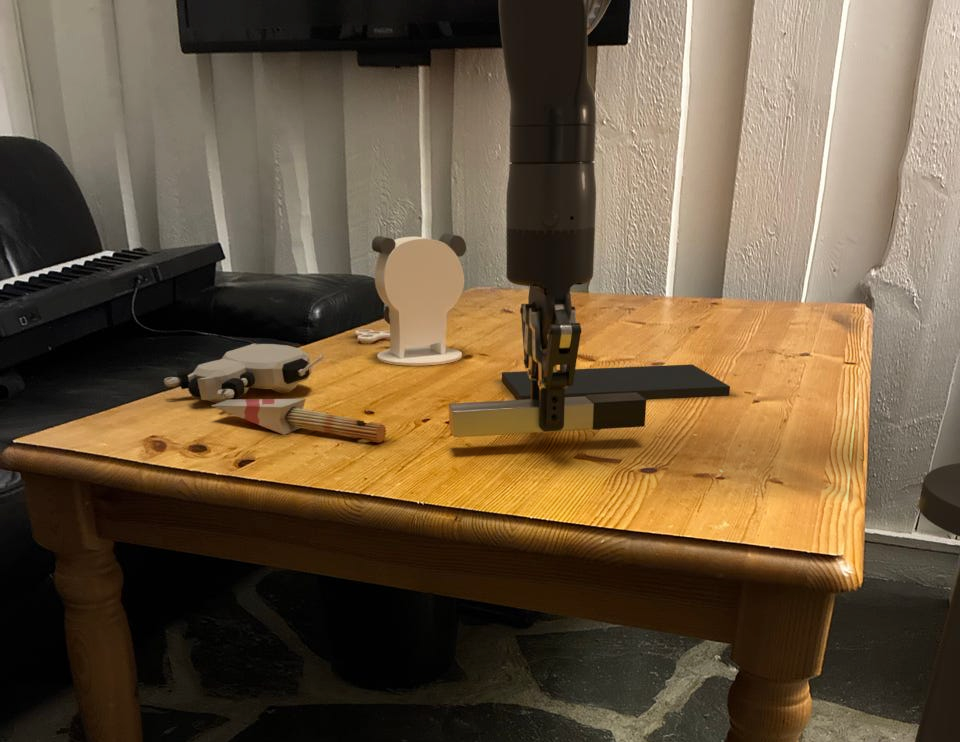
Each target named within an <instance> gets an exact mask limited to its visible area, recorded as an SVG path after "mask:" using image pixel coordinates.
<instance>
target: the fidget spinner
mask: <svg viewBox="0 0 960 742" xmlns="http://www.w3.org/2000/svg"><path fill="white" fill-rule="evenodd" d="M354 335H355V337H356V339H357V341H358V342H361V343H372V342H376V341H378V340H382V339H390V330H383V331H381V330H380V331H379V330H378V331H377V330H373V329H357V330H354Z"/></svg>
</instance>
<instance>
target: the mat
mask: <svg viewBox="0 0 960 742" xmlns="http://www.w3.org/2000/svg"><path fill="white" fill-rule="evenodd" d="M557 372H560V369H557ZM532 380H534V379H529V375H528V370H526V371H525V370H523V371H521V370H520V371H503V372H501V382H502V383H503V384H504V385H505V387H506V388H507V389H508V390H509V391H510V392H511V394H512V395H513V396H514V397H515V400H526V399H531V381H532ZM730 391H731V385H729V384H727V383H725V382H723V380H720V379H718V378H717V377H715V376H713V375H711V374H710V373H708V372H707V371H704V370H703V369H701V368H699V367H698V366H696V365H694V364H669V365H667V364H666V365H647V366H645V365H644V366H622V367H618V366H617V367H597V368H596V367H595V368H594V367H593V368H575V374H574V381H573V385H572V386H568V388H567V389H565V397H582V396H585V395H596V394H614V393H633V392H636V393H637V394H639V395H640V396H641V397H643V398H644V399H645V400H654V399H674V398H695V397H696V398H697V397H698V398H699V397H716V396H717V397H718V396H730Z"/></svg>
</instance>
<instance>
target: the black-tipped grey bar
mask: <svg viewBox="0 0 960 742" xmlns="http://www.w3.org/2000/svg"><path fill="white" fill-rule="evenodd" d="M646 411H647V399H644V398H643V397H641V396H640V395H639V394H637V393H636V392H633V393H614V394H596V395H585V396H582V397H565V405H564V427H563V429H561V430H559V431H543V430H541V428H540V427H539V399H526V400H517V399H511V400H490V401H474V402H472V401H471V402H453V403H448V428H449V432H450V433H451V435H452V437H453V438H468V437H469V438H470V437H486V436H487V437H488V436H504V435H505V436H506V435H519V434H520V435H522V434H537V433H538V434H539V433H555V432H570V431H571V432H572V431H587V430H588V431H590V430H592V431H593V430H594V431H595V430H610V429H611V430H612V429H627V428H630V429H631V428H643V427H645V426H646V413H647V412H646Z"/></svg>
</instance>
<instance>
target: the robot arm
mask: <svg viewBox="0 0 960 742" xmlns="http://www.w3.org/2000/svg"><path fill="white" fill-rule="evenodd" d="M611 1H612V0H498V18H499V19H498V21H499V32H500V40H501V41H500V42H501V48H502V56H503V61H504V70H505V76H506V82H507V86H508V93H509V99H510V100H509V101H510V108H509V109H510V110H509V166H508V167H509V168H508V178H507V186H506V198H505V199H506V203H505V204H506V206H505V207H506V215H505V217H506V218H505V219H506V220H505V221H506V223H505V224H506V225H505V227H506V234H505V235H506V265H505V266H506V274H505V275H506V279H507V281H508V282H509V283H511V284H513V285H517V286H523V287H529V289H528V297H527V298H528V299H527V301H528V303H521V305H520V308H519V313H520V318H521V332H522V344H523V345H522V347H523V358H524V359H523V365H524V368H525V369H527V371H528V375H529V379H534V380H532V381H531V399H539V427H540V428H541V430H543V431H557V432H560V431H559V430H561V429H563V427H564V405H565V389H567V388H568V386H572V385H573V381H574V374H575V369H576V367H577V360H578V355H579V354H578V353H579V347H580V341H581V334H582V327H581V324H580V322H577V311H576V307H575V306H574V305H573V306H572V295H571V289H572V287H573V286H575V285H576V286H577V285H578V286H580V285H584V284H587V283H589V282H591V280H592V279H593V277H594V265H595V264H594V262H595V240H596V239H595V236H596V213H597V211H596V210H597V184H596V170H595V169H596V168H595V165H596V164H595V159H596V135H597V134H596V133H597V104H596V103H597V102H596V95H595V92H594V89H593V87H592V85H591V82H590V80H589V75H588V35H590V33H591V32H592V31H593V30H594V29H595V28H596V27H597V26H598V24H599V22H600V21H601V19H602V18H603V17H604V15H605V13H606V11H607V9H608V7H609V5H610V3H611ZM558 366H559V370H560V372H557V370H558Z"/></svg>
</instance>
